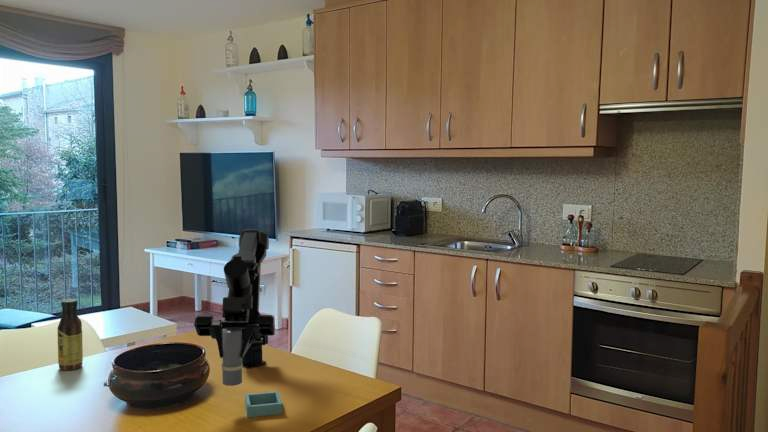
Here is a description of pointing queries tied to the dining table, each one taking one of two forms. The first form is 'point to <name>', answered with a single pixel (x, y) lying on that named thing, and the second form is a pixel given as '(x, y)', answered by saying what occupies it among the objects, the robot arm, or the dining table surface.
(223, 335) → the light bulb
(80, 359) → the sauce bottle
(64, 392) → the dining table surface
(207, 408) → the dining table surface
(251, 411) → the frame
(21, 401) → the dining table surface
